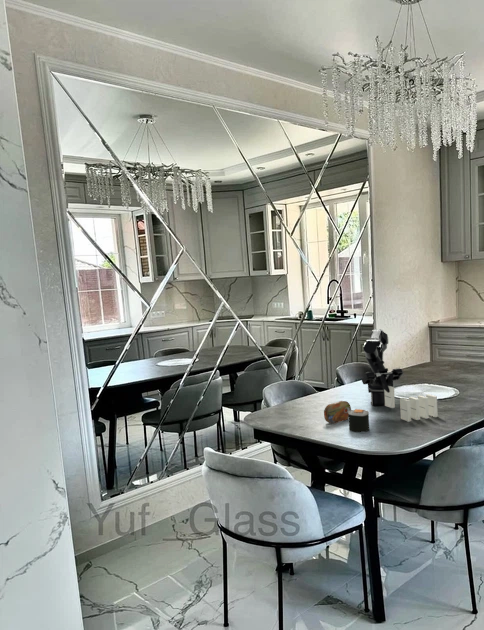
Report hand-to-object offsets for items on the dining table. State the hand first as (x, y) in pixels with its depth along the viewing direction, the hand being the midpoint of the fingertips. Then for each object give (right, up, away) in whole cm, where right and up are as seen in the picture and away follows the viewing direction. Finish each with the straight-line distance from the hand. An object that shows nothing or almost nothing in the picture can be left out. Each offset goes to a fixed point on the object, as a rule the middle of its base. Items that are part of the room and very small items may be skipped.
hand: (390, 391), depth 211 cm
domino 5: (+18, -11, +1) cm, 21 cm away
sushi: (-17, -14, -12) cm, 25 cm away
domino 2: (+6, -12, -3) cm, 13 cm away
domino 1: (0, -7, +2) cm, 7 cm away
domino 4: (+14, -11, 0) cm, 18 cm away
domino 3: (+10, -11, -2) cm, 15 cm away
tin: (-23, -13, +2) cm, 27 cm away
